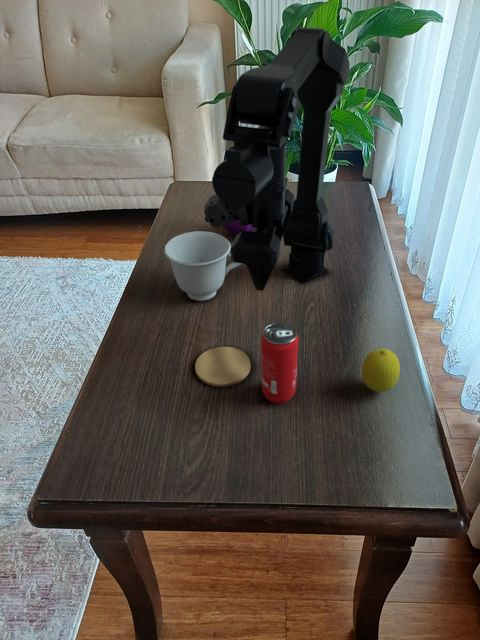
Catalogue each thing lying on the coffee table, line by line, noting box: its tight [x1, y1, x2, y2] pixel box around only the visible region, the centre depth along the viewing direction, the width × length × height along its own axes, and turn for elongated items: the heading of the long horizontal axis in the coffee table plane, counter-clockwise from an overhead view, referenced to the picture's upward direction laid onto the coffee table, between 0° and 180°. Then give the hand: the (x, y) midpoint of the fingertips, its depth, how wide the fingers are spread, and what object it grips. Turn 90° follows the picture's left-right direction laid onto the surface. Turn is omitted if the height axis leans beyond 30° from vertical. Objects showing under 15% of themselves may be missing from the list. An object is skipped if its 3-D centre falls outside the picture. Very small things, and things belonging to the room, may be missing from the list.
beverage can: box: [261, 322, 300, 405], centre depth 76 cm, size 5×5×12 cm
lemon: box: [361, 347, 401, 393], centre depth 78 cm, size 6×6×8 cm
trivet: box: [194, 346, 252, 388], centre depth 85 cm, size 9×9×1 cm
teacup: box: [163, 230, 242, 302], centre depth 98 cm, size 12×15×10 cm
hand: (265, 273), depth 82 cm, fingers open, 9 cm apart
